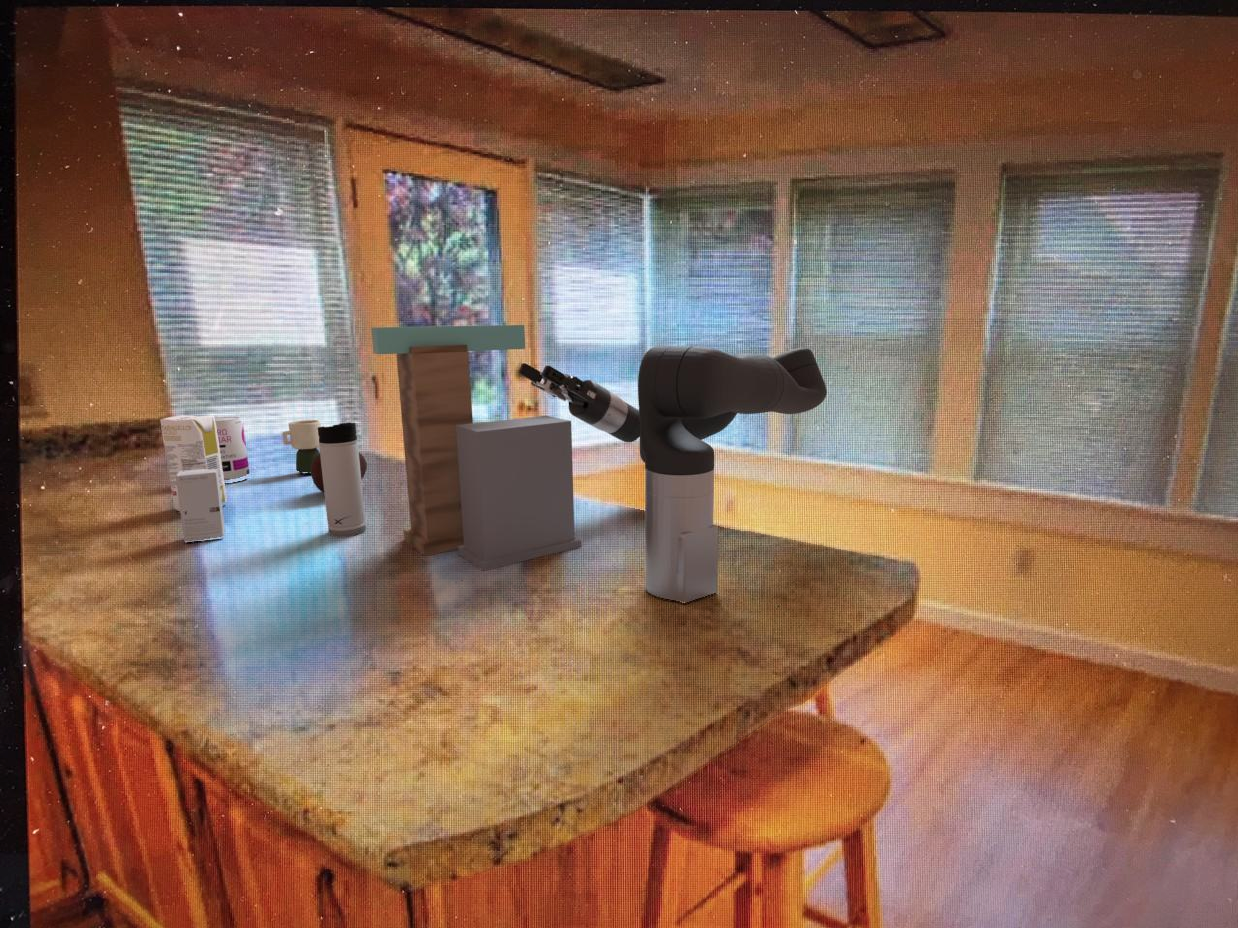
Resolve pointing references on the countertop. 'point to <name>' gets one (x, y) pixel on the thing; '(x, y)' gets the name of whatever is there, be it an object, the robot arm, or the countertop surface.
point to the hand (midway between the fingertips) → (532, 369)
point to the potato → (317, 471)
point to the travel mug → (342, 479)
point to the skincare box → (200, 504)
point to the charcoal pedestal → (516, 490)
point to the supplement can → (232, 447)
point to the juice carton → (191, 448)
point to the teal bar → (448, 337)
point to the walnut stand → (434, 442)
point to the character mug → (303, 442)
